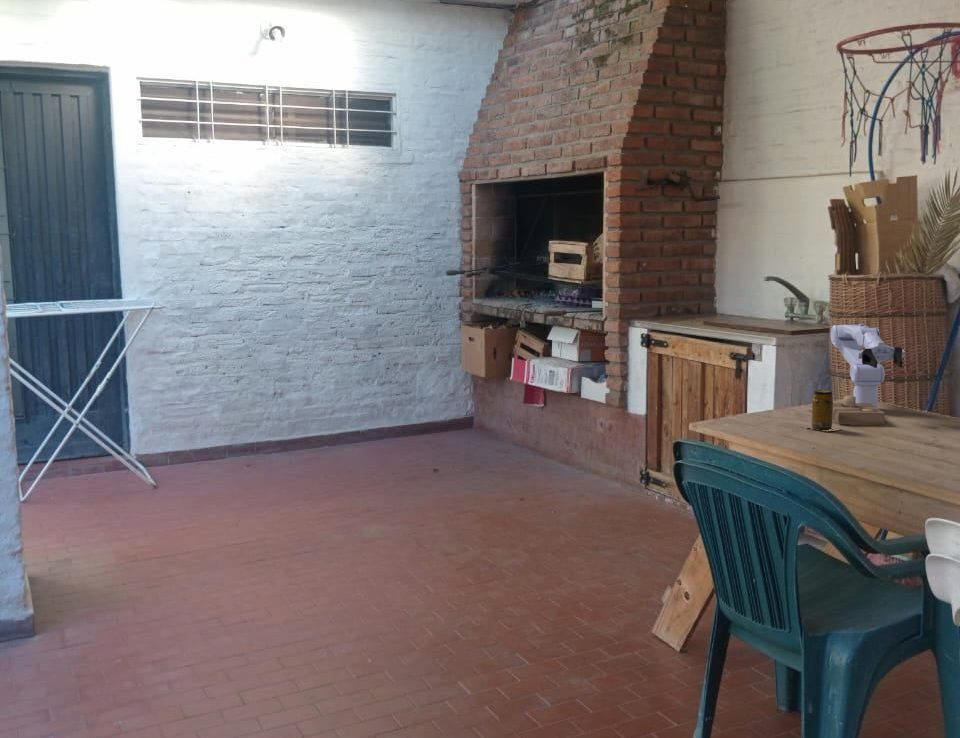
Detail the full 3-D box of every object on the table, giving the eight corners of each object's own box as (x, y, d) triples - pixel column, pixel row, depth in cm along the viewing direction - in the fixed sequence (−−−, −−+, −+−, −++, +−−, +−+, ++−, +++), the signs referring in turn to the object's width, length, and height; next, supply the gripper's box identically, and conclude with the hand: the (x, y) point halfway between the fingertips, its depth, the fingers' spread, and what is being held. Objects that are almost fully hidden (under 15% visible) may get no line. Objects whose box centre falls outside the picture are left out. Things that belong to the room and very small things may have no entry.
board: (826, 414, 332) (827, 402, 331) (870, 415, 330) (870, 403, 330) (838, 424, 316) (838, 412, 316) (884, 425, 315) (884, 412, 314)
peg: (842, 407, 328) (842, 396, 327) (853, 408, 327) (854, 396, 327) (845, 410, 324) (845, 397, 324) (856, 410, 324) (857, 398, 323)
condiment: (818, 425, 315) (819, 388, 314) (842, 429, 309) (844, 391, 307) (805, 428, 311) (806, 391, 309) (829, 433, 304) (831, 394, 303)
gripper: (854, 337, 327) (866, 354, 315) (899, 335, 326) (913, 352, 314) (852, 356, 330) (864, 374, 318) (897, 355, 329) (911, 372, 317)
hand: (888, 364), depth 316 cm, fingers open, 7 cm apart
